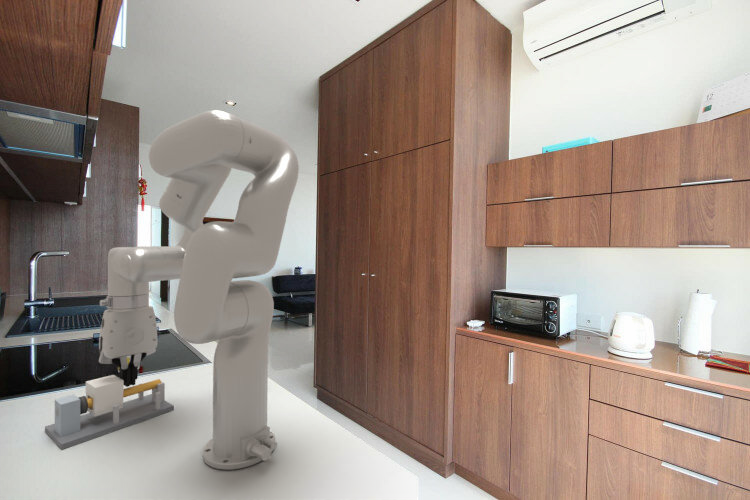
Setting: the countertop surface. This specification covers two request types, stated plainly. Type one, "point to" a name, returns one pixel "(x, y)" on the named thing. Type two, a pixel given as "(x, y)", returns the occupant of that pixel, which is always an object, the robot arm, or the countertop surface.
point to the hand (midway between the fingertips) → (128, 384)
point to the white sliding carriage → (105, 394)
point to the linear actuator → (87, 426)
